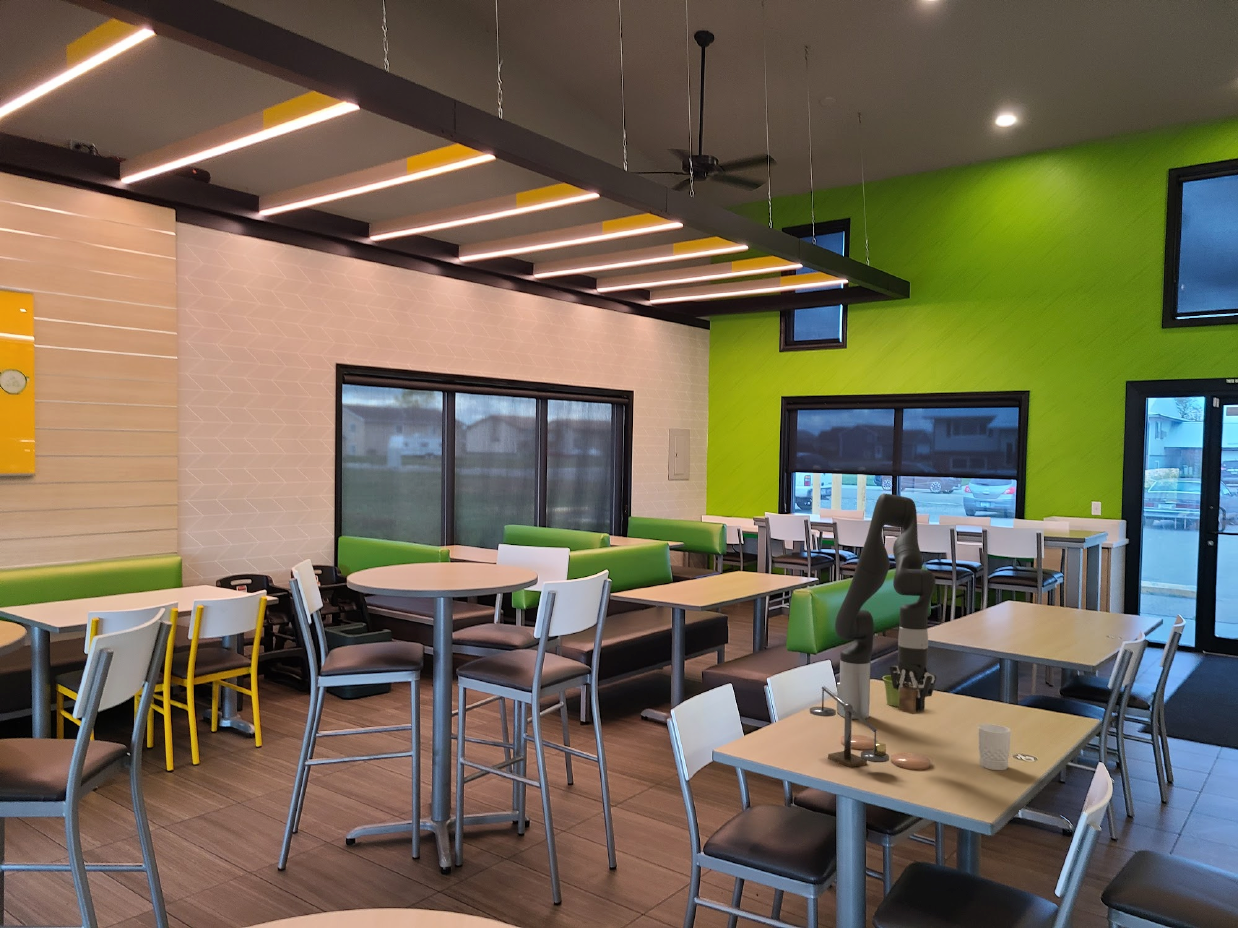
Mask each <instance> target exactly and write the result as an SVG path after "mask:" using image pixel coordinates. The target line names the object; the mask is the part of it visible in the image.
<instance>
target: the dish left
mask: <svg viewBox="0 0 1238 928" xmlns="http://www.w3.org/2000/svg"><path fill="white" fill-rule="evenodd" d="M840 743H841V746H844V735H843V736H841V738H840ZM876 743H879V742H878V740H877V739H876ZM858 749H860V750H861V751H868V750H870V749H872V750H874V737H871V736H867V735H863V734H862V735H861V734H851V750H858ZM860 750H859V751H860Z"/></svg>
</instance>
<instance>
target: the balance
mask: <svg viewBox="0 0 1238 928" xmlns="http://www.w3.org/2000/svg"><path fill="white" fill-rule="evenodd" d="M824 692H825V693H826V694H827V695H829V696H830V697H831V698H833V699H834V700H835V701H836V703H837V702H838V703H840V704H841V705H842V706H843V707H844V711H845V717H844V733H843V734H844V735H843V736H844V745H843V750H841V751H837V752H832V753H827V756H828V758H827V759H828V760H831V761H833V762H835V763H838V762H839V764H840V765H843V766H846V767H847V768H850V767H851V768H854V767H860V766H864V765H863V764H865V765H867V764H868V762H871V763H886V762H887V763H888V762H890V755H889V754H888V753H887V744H886V743H883V742H878V743H876V740H877V731H878V729H877V728H876V727H874V726H873V725H872V724H871V723H870V721H868V720H866V719H864V718H863V717H861V716H860V715H859V714H858V713H856V712H855V711H854V710H853V706H852V705H851V704H846V703H844V702H843V701H842V700H841V699H839V698H838V697H837V694H835V693H833V692H832V691H831V690H829V688H827V687H826V686H825V685H823V686H822V687H821V706H813V707H810V708H809V713H810V714H811V715H813V716H818V717H826V718H827V717H834V716H835V715H837V709H834V708H831V707H828V706H824V702H825V701H824V700H825V699H824V698H825V693H824ZM852 714H853V715H854V716H855V717H857V718H858V719H857V720H859V721H860V722H861V723H862V724H864V726H866V727H867V728H868V729H870V730H871V731H872V732H874V737H873V738H874V749H872V750H862V751H861V753H860V756H859V755H857V754H854V753H852V748H851V735H852V727H853V726H852V725H853V724H852V723H853V722H852V720H853V719H852Z"/></svg>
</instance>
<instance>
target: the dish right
mask: <svg viewBox="0 0 1238 928" xmlns="http://www.w3.org/2000/svg"><path fill="white" fill-rule="evenodd" d="M931 762H932V761H931V759H930V758H929V757H927V756H926V755H923V754H922V755H921V754H918V753H914V752H912V753H911V752H896V753H892V754H891V755H890V763H891V764H892V765H894V766H896V767H899V768H902V767H903V768H902V769H906V768H907V770H914V769H919V770H921V769H922V770H927V769H929V768H931V765H932V763H931ZM922 770H921V771H922Z"/></svg>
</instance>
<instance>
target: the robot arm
mask: <svg viewBox="0 0 1238 928" xmlns="http://www.w3.org/2000/svg"><path fill="white" fill-rule="evenodd" d="M885 526H889V527H894V528H898V529H899V528H900V529H901V528H902V529H903V531H902V532H901V533H900V535H898V537H897V538H896V539H895V541H894V543H893V546H892V552H893V556H894V562H895V572H894V577H893V583H892V585H893V589H894V591H895V592H896V593H897V594H898V595H901V596H907V597H908V596H910V597H911V596H913V597H914V596H915V597H919V598H918V599H917V600H916V601H915V602H912V603H907V604H903V605H901V606H900V608H899V625H898V626H899V628H898V637H897V639H898V641H897V660H898V665H891V666H889V673H890V675H891V679H892V684H893V688H894V689H897V690H898V691H899V690H900V687H905V686H909V685H910V686H911V685H912V686H913V688H914V689H915V691H916V696H917V698H916V712H922V711H923V710H924V711H925V705H926V703H925V702H926V698H927V697H932V695H933V692H934V688H935V686H936V681H937V676H936V675H935V674H931V673H929V672H928V669H927V664H928V662H929V660H928V659H929V658H928V657H929V634H928V613H929V609H930V604H931V600H932V597H933V594H934V592H935V588H936V578H935V575H934V573H933V572H932V571H931V570H929V569H923V565H924V562H923V557H922V552H921V550H920V546H919V539H918V538H919V537H918V515H917V507H916V504H915V501H914V500H913V499H912V498H909V497H906V496H902V495H896V494H892V493H891V494H890V493H881V494H879V496H878V498H877V499H876V503H875V505H874V507H873V513H872V517H871V520H870V524H869V529H868V532H867V536H866V539H865V542H864V545H863V546H862V547H863V548H862V550H861V552H860V556H859V558H858V560H857V563H856V567H855V569H854V573H853V577H852V580H851V582H850V585H849V588H848V590H847V593H846V594H845V595H846V596H845V597H844V599H843V602H842V603H841V605H840V608H839V610H838V612H837V613H836V614H837V615H836V618H835V621H834V622H835V623H834V629H835V633H836V636H837V637H838V638H840V639H842V640H845V641H846V640H848V641H853V642H852V643H851V645H849V646H848V647H846V648H844V649H842V650H841V651H840V654H839V657H840V658H839V682H837V685H836V687H837V689H836V696H837V697H838V698H839V699H841V700H842V701H843V702H844V703H846V704H851V705H852V706H853V710H854V711H855V712H856V713H858V714H859V715H860V716H861V717H863V718H864V719H865V720H866V719H869V718H870V702H871V701H870V699H871V698H870V697H871V696H870V695H871V658H872V655H873V649H874V647H873V646H874V637H875V636H874V635H875V634H874V633H875V624H874V623H875V622H874V618H873V615H872V614H871V612H869V611H868V610H867V609H862V608H863V605H865V604H866V602H867V601H868V600H870V599H871V598H872V597H873V595H875V594H876V593H877V592H878V591H879V590H880V589H881V588H882V587H883V585H884V584H885V580H886V579H887V576H888V572H889V570H890V565H891V564H890V557H889V553H888V550H887V549H886V546H885V543H884V539H883V534H882V533H883V529H884V527H885ZM896 679H897V681H896ZM897 683H898V684H897ZM920 690H921V692H920ZM922 713H923V712H922ZM836 714H839V716H841V717H843V718H845V711H844V707H843V706H842V705H841V704H840V703H838V702H837V701H836ZM853 719H854V720H859V719H858V718H857V717H855V716H854V715H853V714H852V720H853Z"/></svg>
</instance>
